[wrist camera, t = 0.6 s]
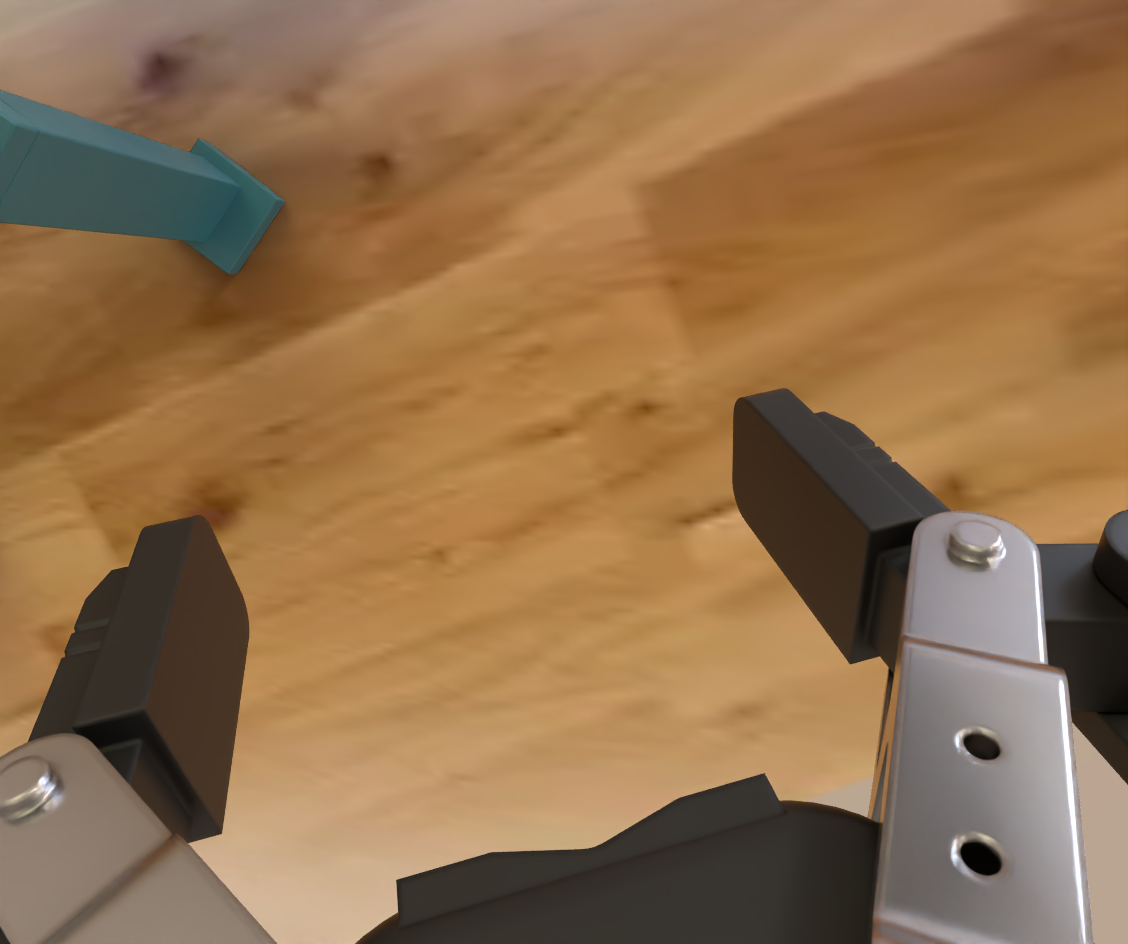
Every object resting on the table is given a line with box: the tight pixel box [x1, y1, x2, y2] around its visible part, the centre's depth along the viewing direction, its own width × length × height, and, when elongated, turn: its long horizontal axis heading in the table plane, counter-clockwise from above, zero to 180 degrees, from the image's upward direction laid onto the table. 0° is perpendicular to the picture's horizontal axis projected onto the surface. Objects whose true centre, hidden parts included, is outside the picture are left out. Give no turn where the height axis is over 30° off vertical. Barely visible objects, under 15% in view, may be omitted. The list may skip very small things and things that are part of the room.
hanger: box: [0, 90, 285, 274], centre depth 27 cm, size 10×4×15 cm, turn 52°
